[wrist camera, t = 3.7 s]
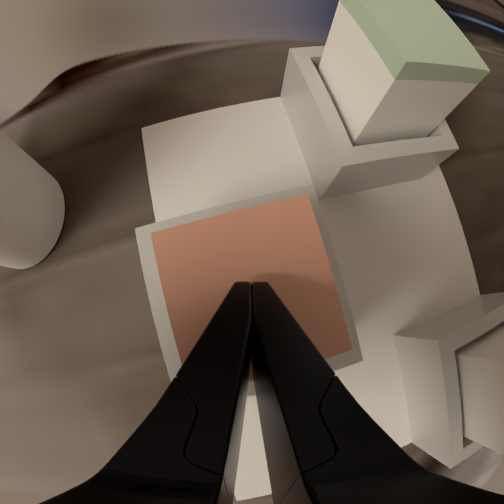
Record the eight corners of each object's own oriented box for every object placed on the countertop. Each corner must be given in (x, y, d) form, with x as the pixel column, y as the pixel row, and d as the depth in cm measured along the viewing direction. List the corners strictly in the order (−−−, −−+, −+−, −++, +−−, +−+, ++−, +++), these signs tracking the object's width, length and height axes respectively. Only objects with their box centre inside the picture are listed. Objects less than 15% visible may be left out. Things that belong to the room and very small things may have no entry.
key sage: (423, 139, 14) (490, 71, 8) (349, 148, 14) (406, 61, 7) (387, 72, 15) (431, -3, 9) (315, 75, 14) (344, -17, 8)
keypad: (491, 391, 15) (536, 402, 11) (236, 499, 14) (236, 546, 9) (398, 88, 18) (424, 49, 14) (142, 130, 17) (119, 84, 13)
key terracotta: (307, 334, 14) (352, 349, 8) (211, 359, 14) (190, 394, 8) (280, 239, 15) (307, 193, 9) (186, 264, 15) (150, 233, 9)
